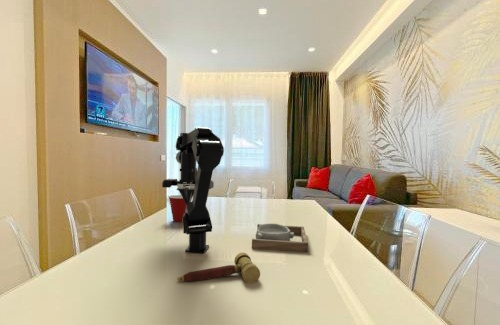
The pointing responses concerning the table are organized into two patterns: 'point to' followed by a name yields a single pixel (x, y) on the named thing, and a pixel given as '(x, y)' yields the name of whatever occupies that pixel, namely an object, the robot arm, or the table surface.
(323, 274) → the table surface
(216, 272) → the gavel
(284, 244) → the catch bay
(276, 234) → the dish
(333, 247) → the table surface
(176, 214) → the plastic cup
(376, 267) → the table surface
